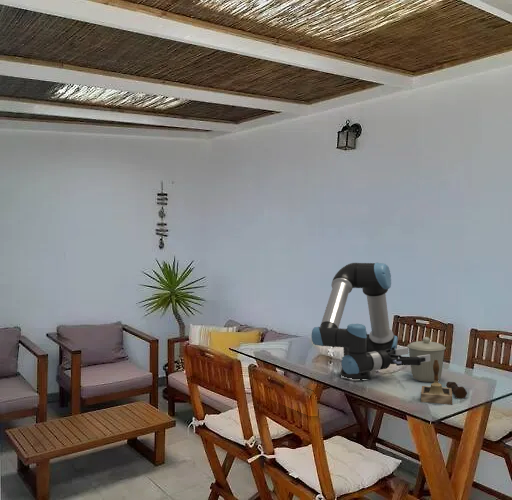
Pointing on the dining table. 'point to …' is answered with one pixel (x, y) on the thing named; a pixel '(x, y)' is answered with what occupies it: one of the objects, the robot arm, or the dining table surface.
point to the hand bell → (436, 381)
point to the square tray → (436, 396)
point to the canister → (426, 368)
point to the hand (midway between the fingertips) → (418, 354)
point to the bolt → (457, 390)
